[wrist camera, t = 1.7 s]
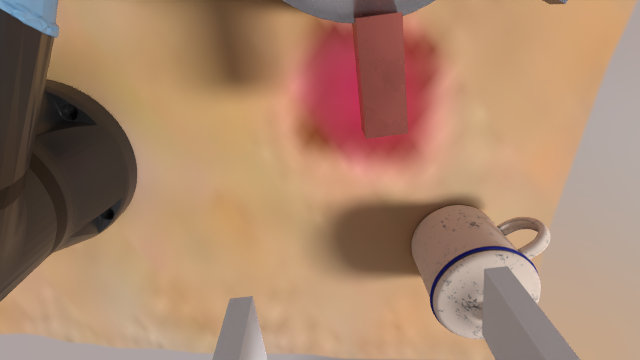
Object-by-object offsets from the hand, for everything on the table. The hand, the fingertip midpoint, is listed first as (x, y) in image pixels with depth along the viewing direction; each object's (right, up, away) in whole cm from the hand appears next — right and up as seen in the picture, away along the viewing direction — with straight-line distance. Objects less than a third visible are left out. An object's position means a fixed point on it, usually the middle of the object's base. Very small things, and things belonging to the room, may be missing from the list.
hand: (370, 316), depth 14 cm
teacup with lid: (+13, -1, +28) cm, 31 cm away
